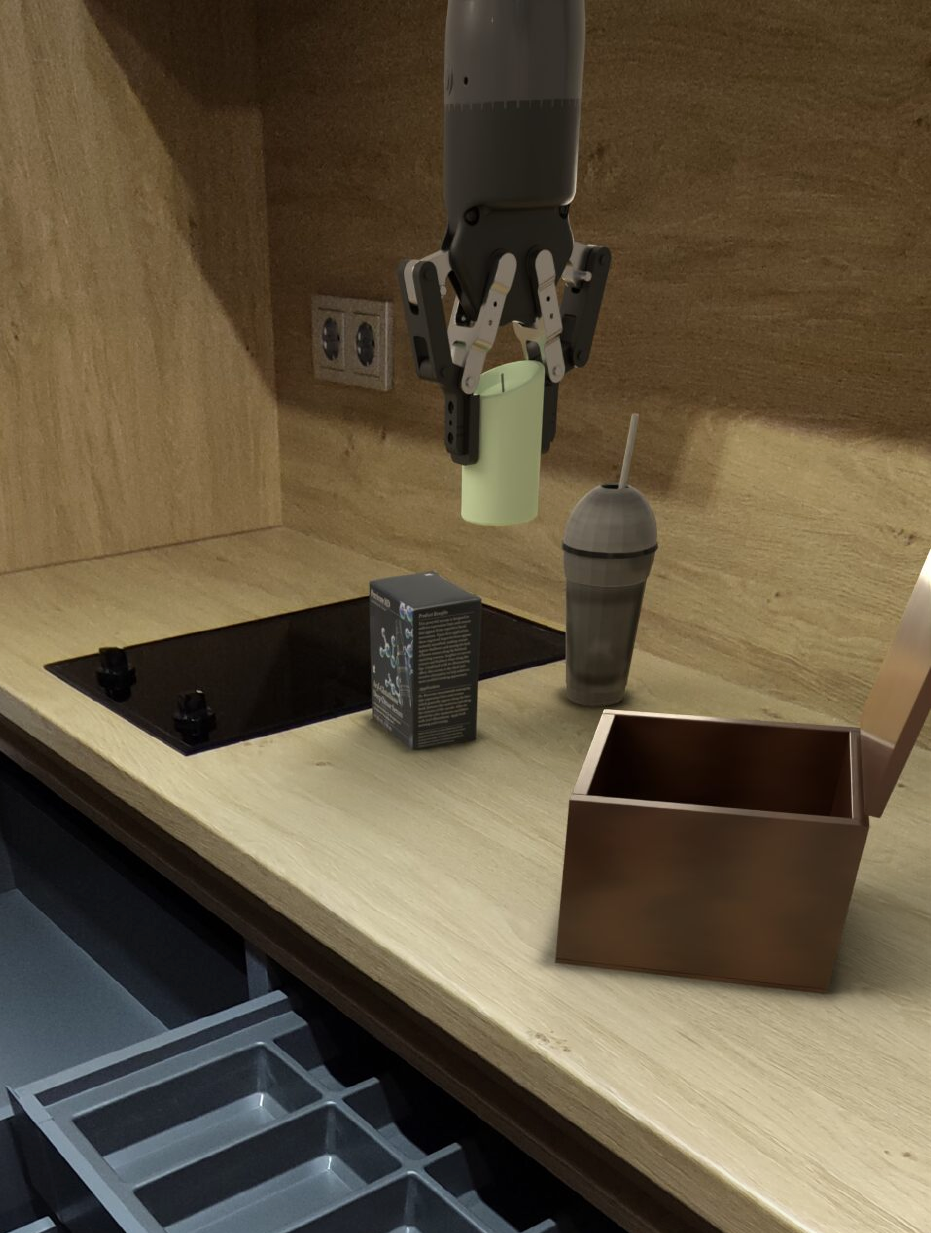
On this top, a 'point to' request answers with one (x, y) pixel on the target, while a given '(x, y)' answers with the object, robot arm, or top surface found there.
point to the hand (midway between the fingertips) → (500, 456)
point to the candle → (506, 447)
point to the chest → (713, 849)
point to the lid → (898, 700)
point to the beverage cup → (606, 584)
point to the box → (424, 659)
